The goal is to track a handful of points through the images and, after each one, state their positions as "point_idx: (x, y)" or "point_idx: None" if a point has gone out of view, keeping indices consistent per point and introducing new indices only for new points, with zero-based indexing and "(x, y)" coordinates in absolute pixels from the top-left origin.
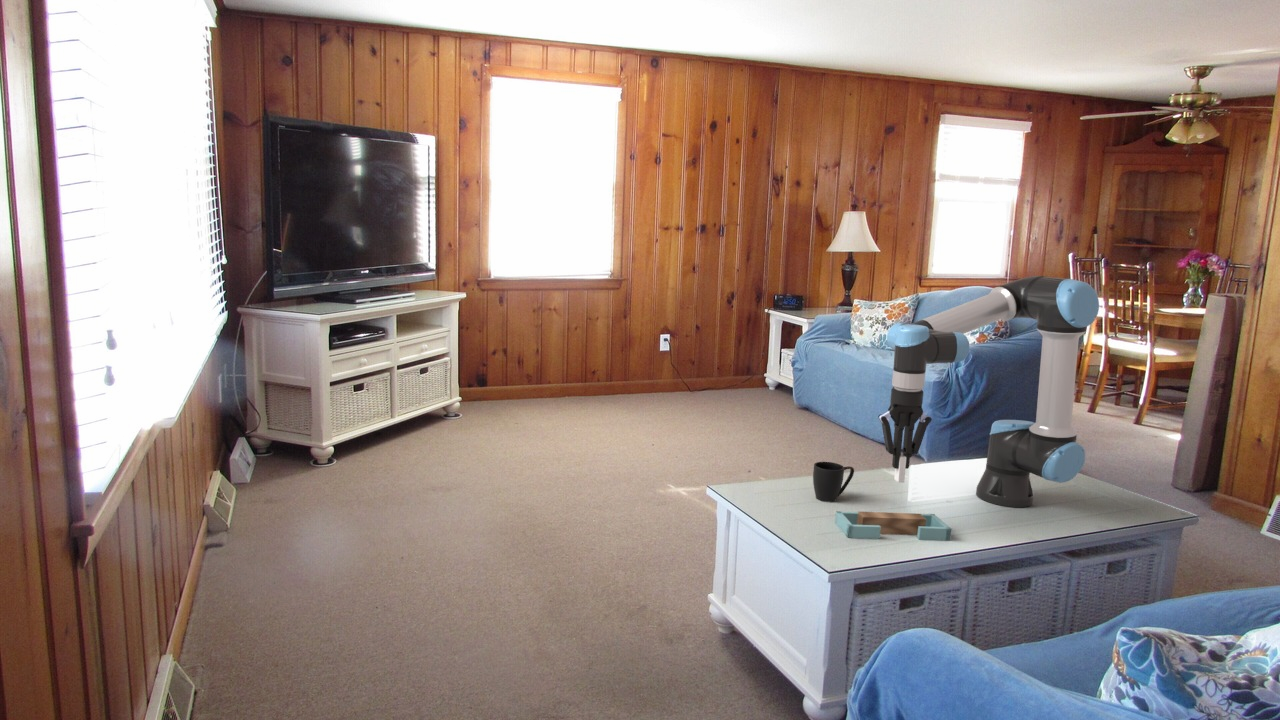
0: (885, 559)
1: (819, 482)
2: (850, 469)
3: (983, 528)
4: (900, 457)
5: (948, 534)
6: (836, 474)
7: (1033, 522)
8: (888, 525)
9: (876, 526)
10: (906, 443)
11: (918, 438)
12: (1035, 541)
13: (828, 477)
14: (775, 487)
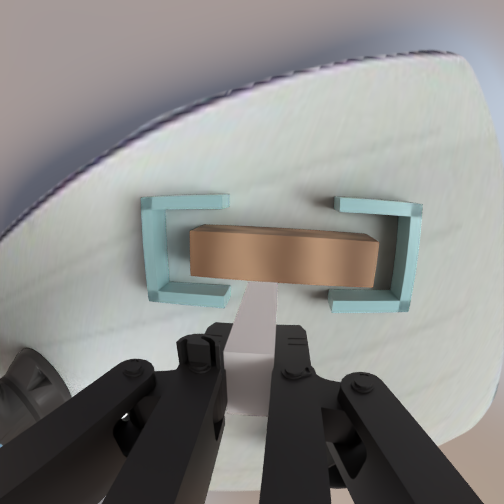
0: (362, 77)
1: None
2: None
3: (76, 271)
4: (273, 355)
5: (153, 196)
6: None
7: (20, 294)
8: (301, 232)
9: (351, 202)
10: (199, 452)
11: (58, 447)
12: (29, 212)
13: None
14: None
